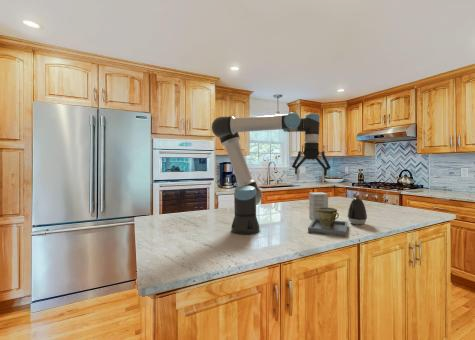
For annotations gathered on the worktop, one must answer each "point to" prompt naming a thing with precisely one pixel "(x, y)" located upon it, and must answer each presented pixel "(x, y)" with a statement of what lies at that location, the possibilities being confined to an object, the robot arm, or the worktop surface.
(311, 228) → the tray
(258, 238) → the worktop surface
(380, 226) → the worktop surface
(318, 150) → the robot arm
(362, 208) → the dark grey egg shape
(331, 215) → the ceramic cup
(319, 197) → the supplement box
